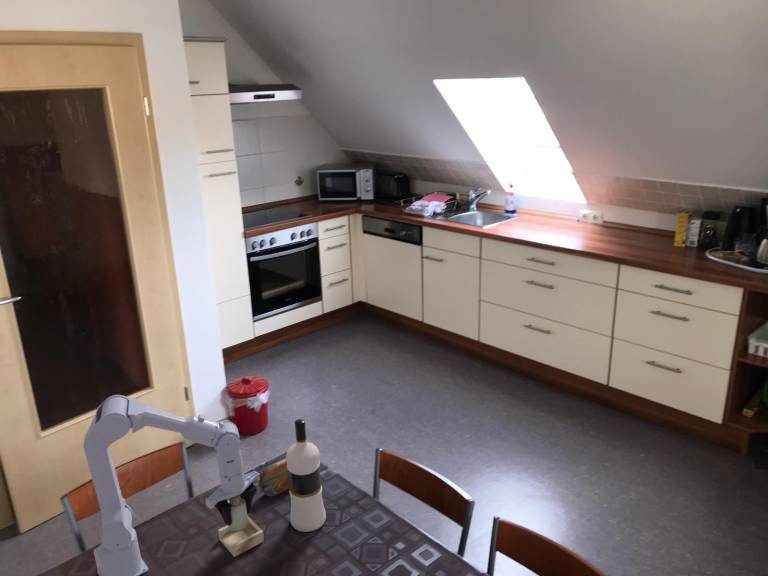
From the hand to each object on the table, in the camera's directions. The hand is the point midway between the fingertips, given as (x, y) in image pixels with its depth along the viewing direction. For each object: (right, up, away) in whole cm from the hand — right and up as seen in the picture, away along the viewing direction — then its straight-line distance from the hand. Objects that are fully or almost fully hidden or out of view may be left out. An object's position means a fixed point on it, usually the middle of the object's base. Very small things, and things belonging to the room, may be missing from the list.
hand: (237, 517), depth 154 cm
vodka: (+17, -4, +8) cm, 19 cm away
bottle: (0, -2, +1) cm, 2 cm away
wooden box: (+1, -7, +2) cm, 7 cm away
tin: (+8, 0, +23) cm, 24 cm away
